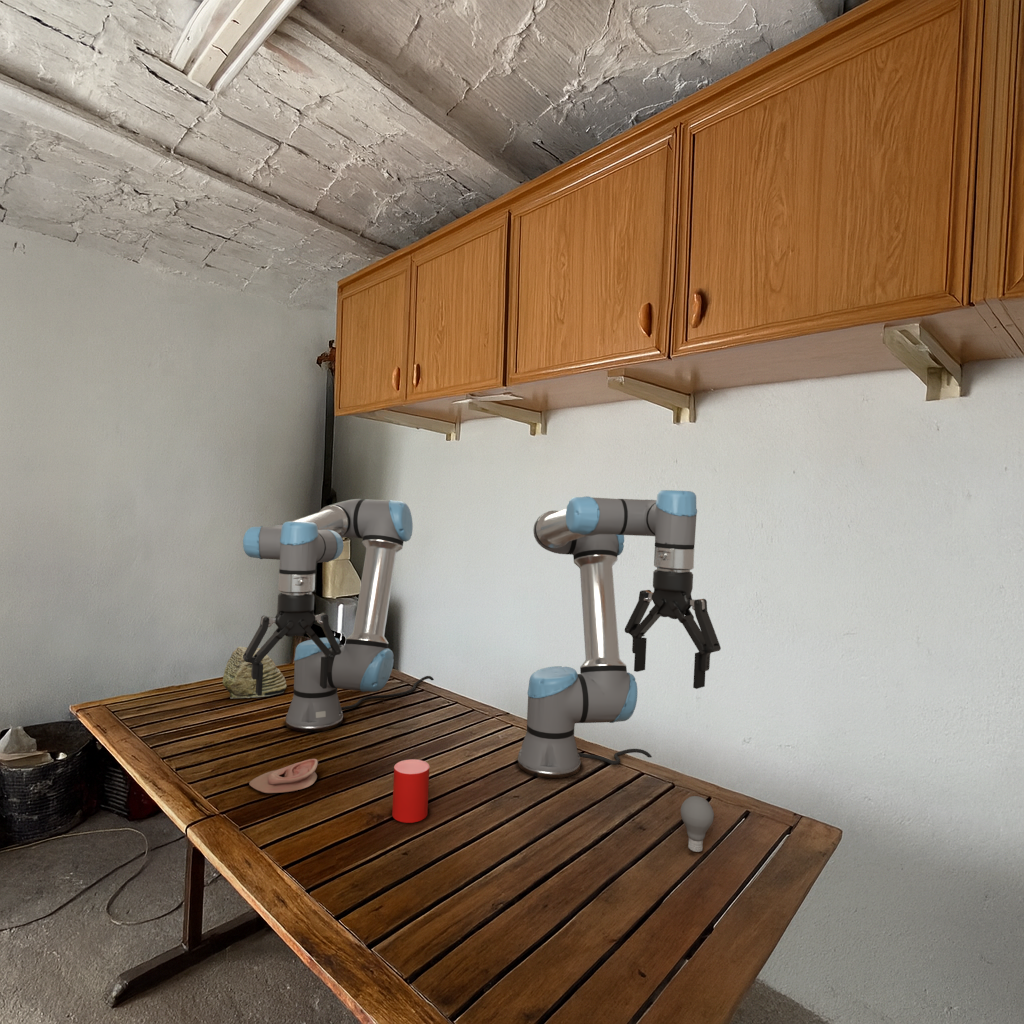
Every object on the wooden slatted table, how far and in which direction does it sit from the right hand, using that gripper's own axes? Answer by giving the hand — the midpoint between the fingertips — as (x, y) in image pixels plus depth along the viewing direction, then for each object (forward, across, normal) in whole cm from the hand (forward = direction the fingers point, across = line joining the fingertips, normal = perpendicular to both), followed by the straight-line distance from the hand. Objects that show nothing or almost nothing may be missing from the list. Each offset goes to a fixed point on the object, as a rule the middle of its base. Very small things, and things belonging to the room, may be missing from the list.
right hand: (668, 678), depth 123 cm
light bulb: (+31, +7, +1) cm, 32 cm away
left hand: (+10, -62, -49) cm, 80 cm away
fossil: (+31, -128, -32) cm, 136 cm away
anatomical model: (+31, -64, -49) cm, 87 cm away
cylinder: (+31, -36, -34) cm, 59 cm away
